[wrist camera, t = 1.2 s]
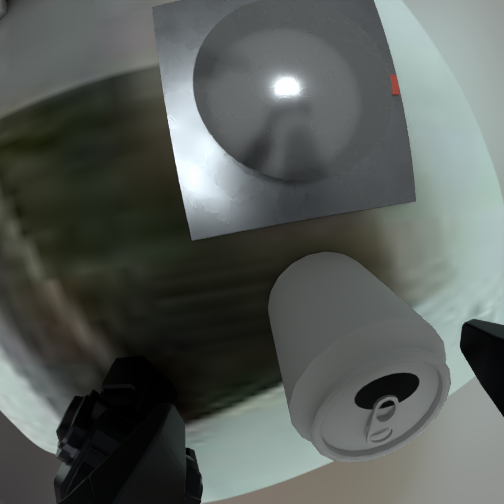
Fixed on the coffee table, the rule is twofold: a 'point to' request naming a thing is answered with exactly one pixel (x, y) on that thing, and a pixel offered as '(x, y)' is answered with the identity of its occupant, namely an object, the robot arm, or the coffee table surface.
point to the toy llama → (3, 8)
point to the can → (354, 359)
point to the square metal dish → (281, 111)
